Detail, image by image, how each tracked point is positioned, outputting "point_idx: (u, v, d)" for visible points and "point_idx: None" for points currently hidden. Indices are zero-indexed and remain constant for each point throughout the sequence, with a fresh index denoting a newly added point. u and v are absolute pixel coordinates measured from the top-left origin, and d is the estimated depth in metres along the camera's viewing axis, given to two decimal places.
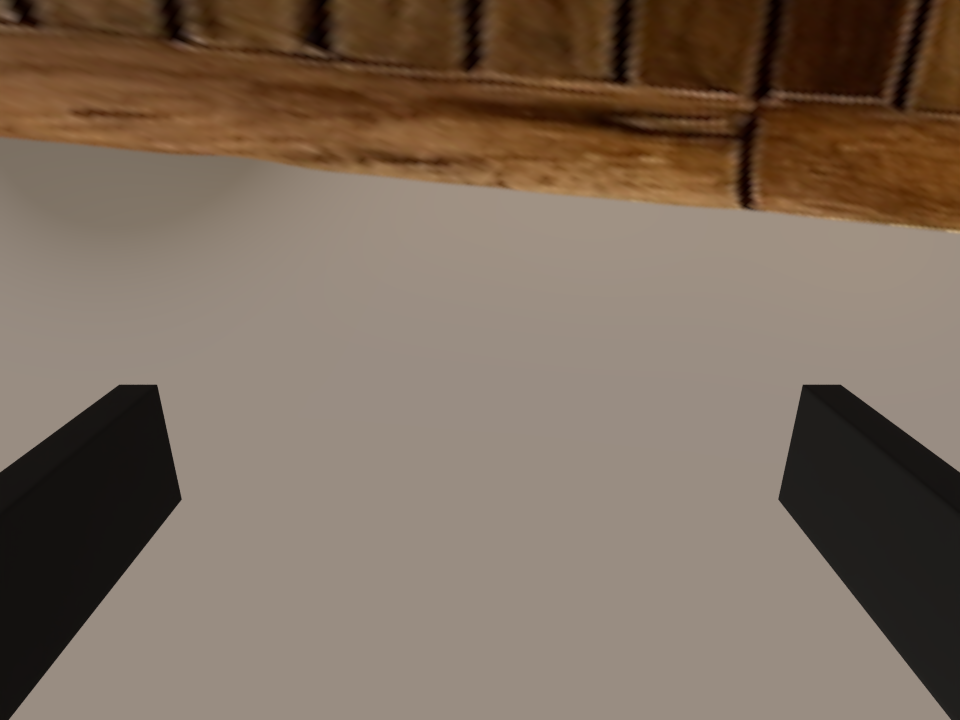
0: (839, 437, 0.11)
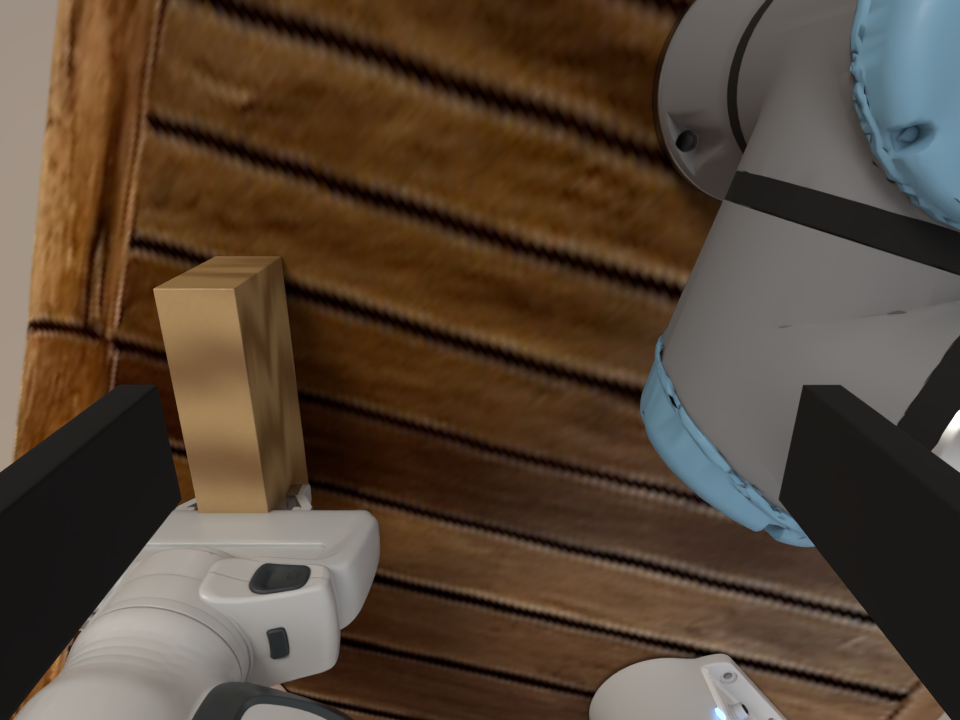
0: (840, 437, 0.11)
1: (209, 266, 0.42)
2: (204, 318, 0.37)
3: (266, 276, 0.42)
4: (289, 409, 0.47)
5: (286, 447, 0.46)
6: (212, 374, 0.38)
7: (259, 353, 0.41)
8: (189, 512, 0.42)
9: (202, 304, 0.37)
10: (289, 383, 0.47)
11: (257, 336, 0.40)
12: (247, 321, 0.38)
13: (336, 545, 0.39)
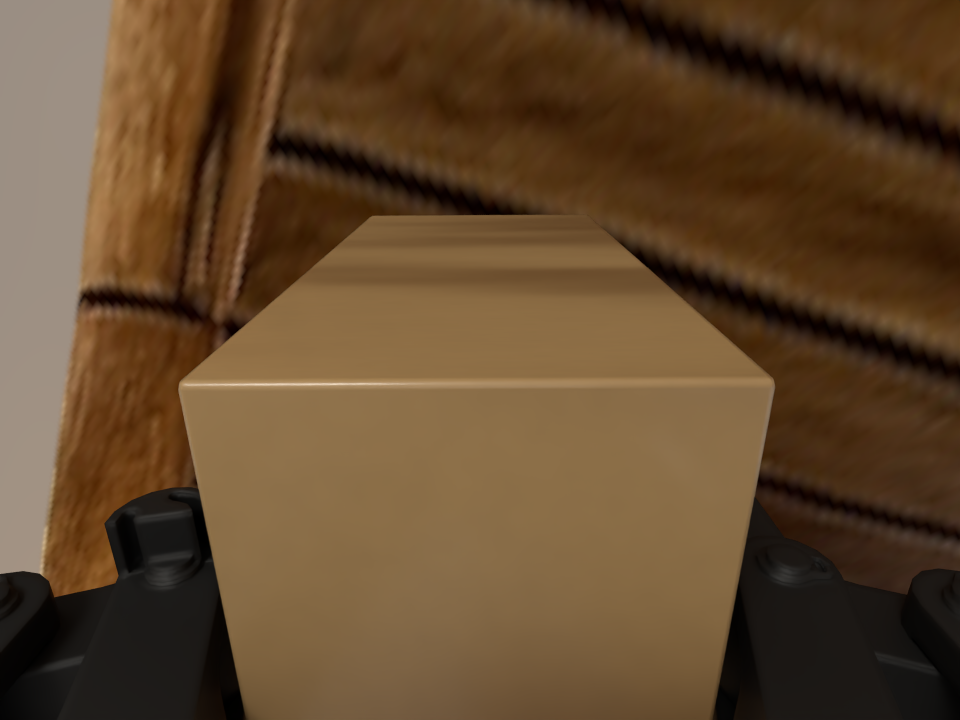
0: None
1: (393, 244, 0.10)
2: (520, 570, 0.06)
3: None
4: None
5: None
6: None
7: None
8: None
9: (519, 488, 0.05)
10: None
11: None
12: None
13: None
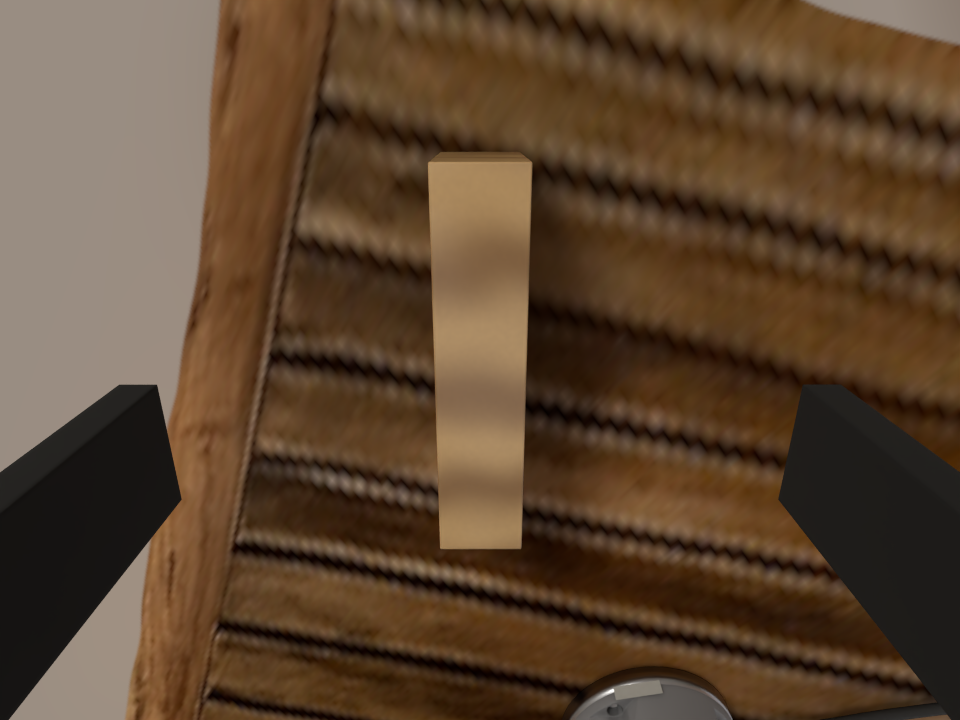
0: (839, 437, 0.11)
1: None
2: (488, 203, 0.29)
3: None
4: None
5: None
6: (485, 278, 0.30)
7: None
8: None
9: (487, 184, 0.29)
10: None
11: None
12: None
13: None
